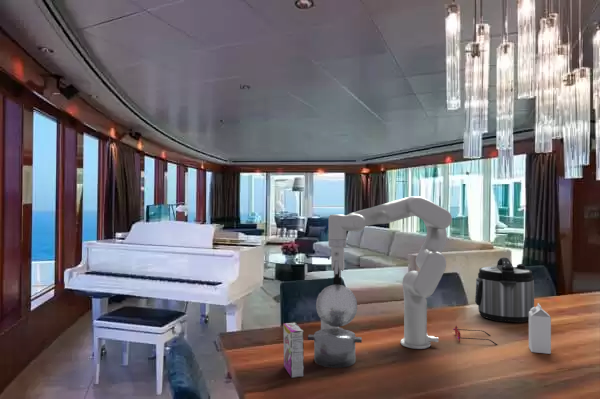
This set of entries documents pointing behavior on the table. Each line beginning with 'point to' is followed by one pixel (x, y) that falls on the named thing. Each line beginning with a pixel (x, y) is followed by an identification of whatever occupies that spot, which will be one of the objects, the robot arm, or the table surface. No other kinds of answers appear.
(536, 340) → the milk carton
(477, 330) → the glasses
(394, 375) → the table surface
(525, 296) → the pressure cooker
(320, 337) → the pot
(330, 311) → the lid
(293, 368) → the candy bar box
